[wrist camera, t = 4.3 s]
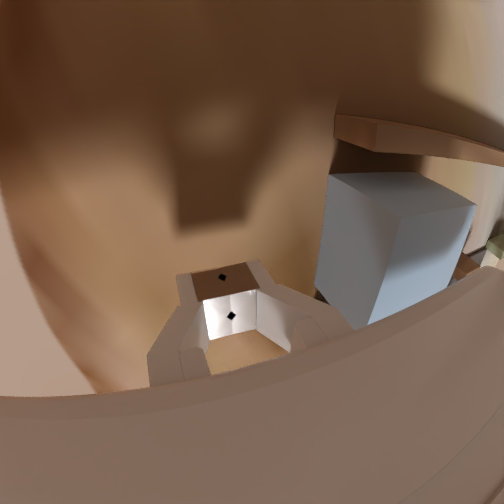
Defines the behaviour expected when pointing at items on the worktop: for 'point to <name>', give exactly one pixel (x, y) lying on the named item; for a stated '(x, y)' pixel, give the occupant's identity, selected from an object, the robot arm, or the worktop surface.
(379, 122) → the lane
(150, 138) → the worktop surface
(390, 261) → the block
